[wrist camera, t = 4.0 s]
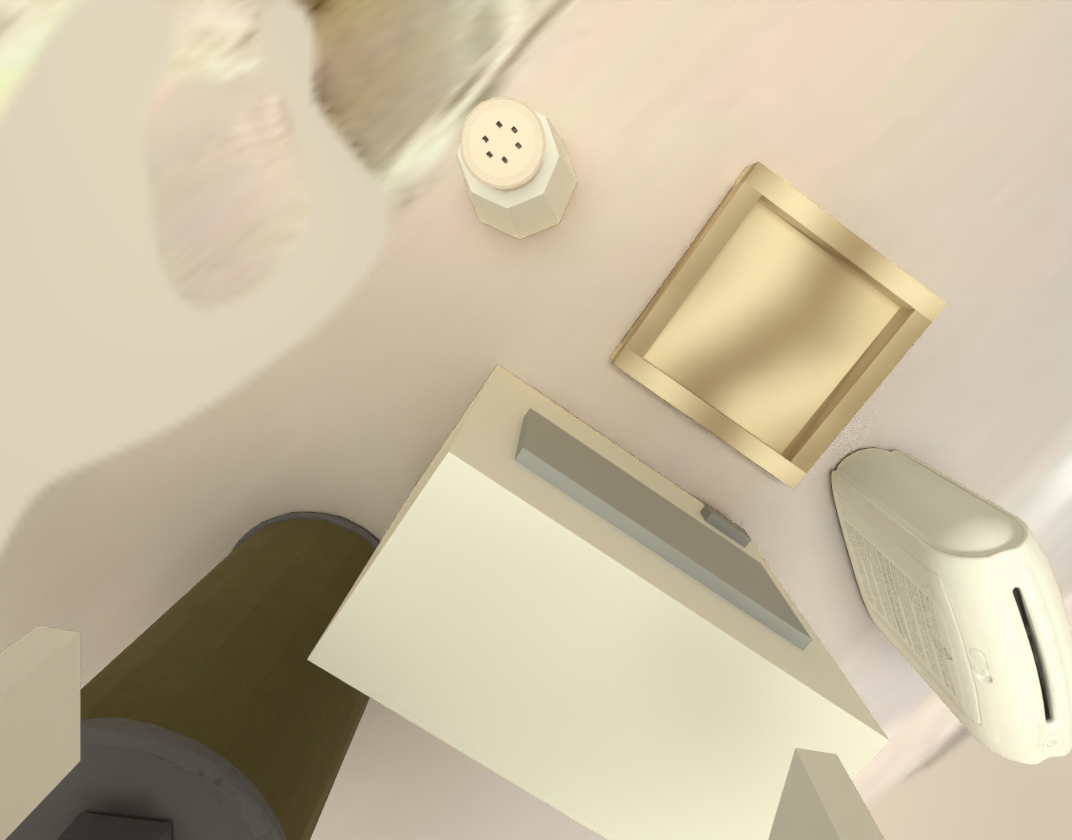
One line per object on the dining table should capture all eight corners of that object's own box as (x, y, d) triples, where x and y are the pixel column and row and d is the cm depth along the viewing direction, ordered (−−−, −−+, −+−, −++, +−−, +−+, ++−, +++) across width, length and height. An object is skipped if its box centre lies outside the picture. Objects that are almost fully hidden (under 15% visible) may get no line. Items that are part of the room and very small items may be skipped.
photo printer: (943, 605, 37) (1132, 774, 25) (865, 628, 37) (1013, 806, 25) (898, 434, 35) (1081, 527, 23) (816, 461, 35) (952, 567, 23)
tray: (609, 358, 34) (612, 364, 32) (746, 167, 32) (758, 161, 30) (780, 476, 35) (793, 489, 33) (923, 301, 33) (946, 303, 31)
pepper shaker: (522, 94, 31) (504, 8, 21) (600, 183, 32) (621, 145, 21) (440, 178, 32) (382, 139, 22) (518, 263, 33) (500, 265, 22)
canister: (223, 499, 36) (-157, 774, 17) (414, 522, 36) (252, 822, 17) (223, 675, 39) (-108, 1088, 20) (401, 696, 39) (247, 1130, 20)
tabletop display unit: (409, 494, 36) (298, 672, 20) (502, 356, 34) (458, 437, 19) (650, 648, 38) (715, 921, 22) (751, 525, 36) (900, 729, 20)
